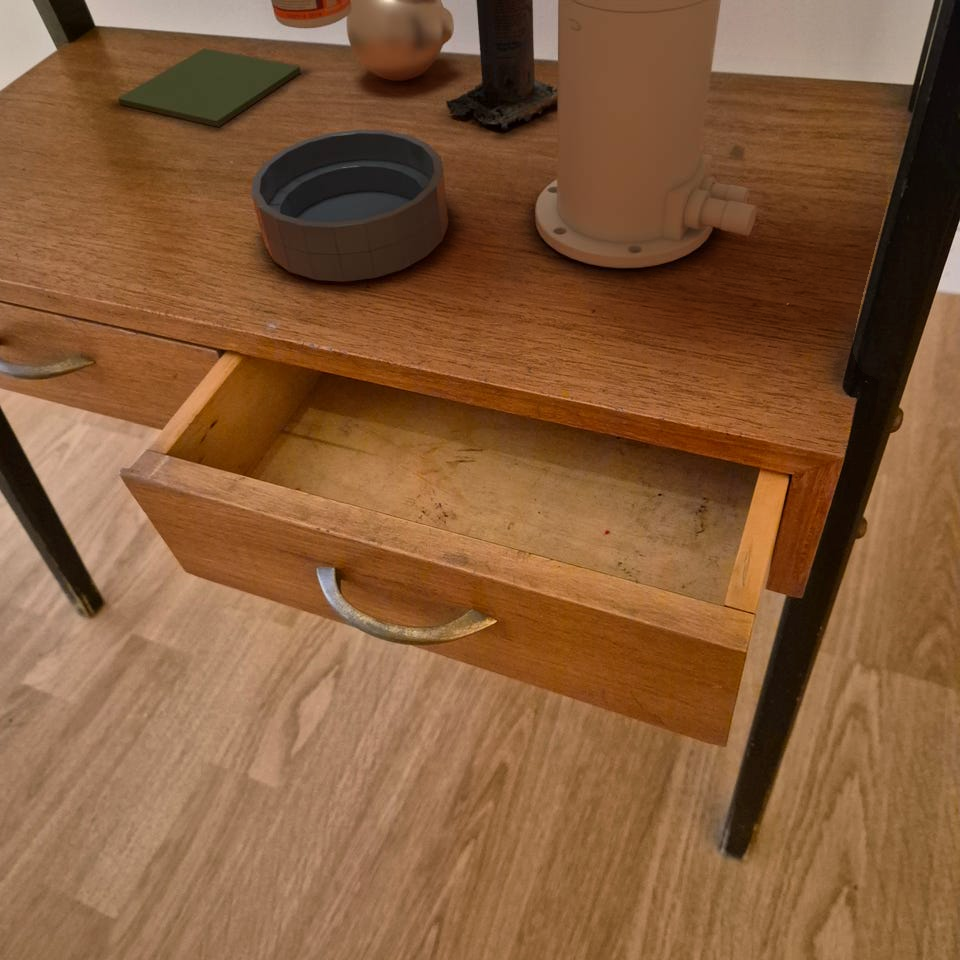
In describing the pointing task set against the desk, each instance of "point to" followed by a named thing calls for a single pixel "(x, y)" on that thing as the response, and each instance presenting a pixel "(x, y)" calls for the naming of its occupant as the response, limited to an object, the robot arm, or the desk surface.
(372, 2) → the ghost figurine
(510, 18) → the post on square base
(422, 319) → the desk surface
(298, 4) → the pill bottle
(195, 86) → the mat
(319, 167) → the bowl
